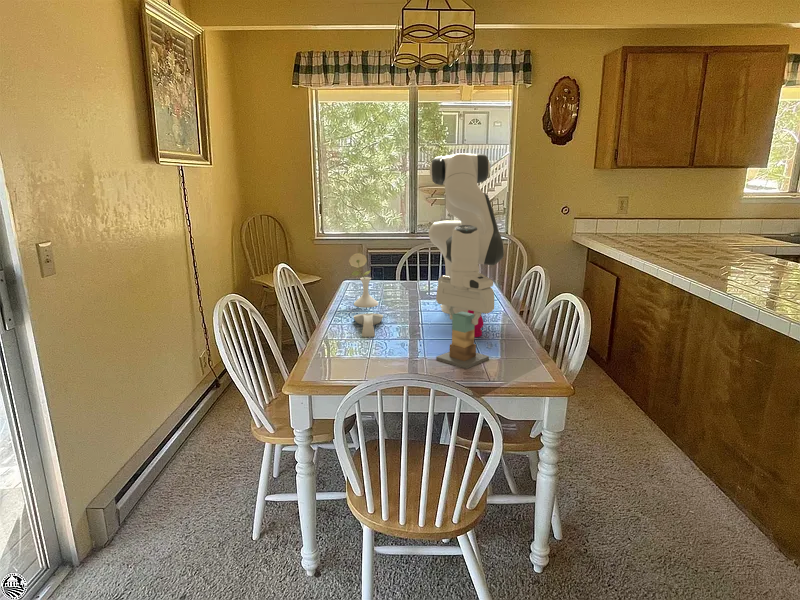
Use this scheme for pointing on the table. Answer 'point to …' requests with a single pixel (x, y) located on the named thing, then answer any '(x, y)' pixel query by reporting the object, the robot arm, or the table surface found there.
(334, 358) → the table surface
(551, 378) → the table surface
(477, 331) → the pepper mill
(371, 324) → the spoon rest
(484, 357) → the build board
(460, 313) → the block
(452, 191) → the robot arm
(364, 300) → the flower in vase
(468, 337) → the block
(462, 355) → the base block
